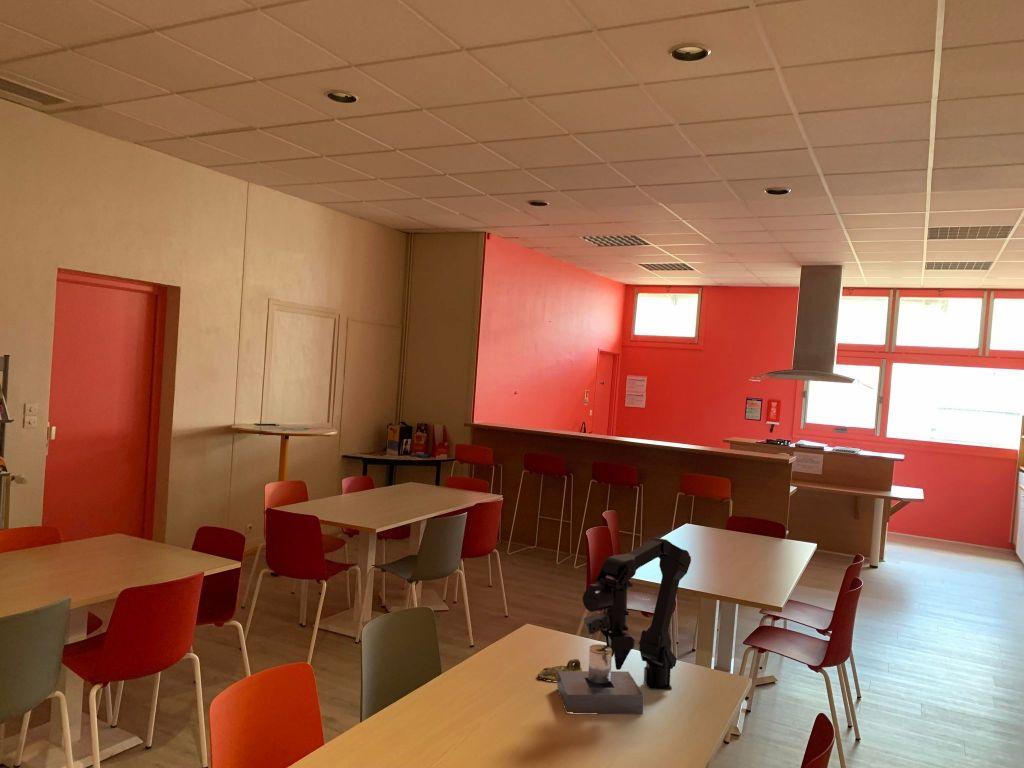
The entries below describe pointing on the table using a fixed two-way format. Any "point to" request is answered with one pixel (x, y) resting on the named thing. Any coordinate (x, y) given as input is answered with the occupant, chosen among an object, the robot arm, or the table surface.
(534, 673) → the table surface
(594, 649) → the end cover
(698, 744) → the table surface
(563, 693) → the housing
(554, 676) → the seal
